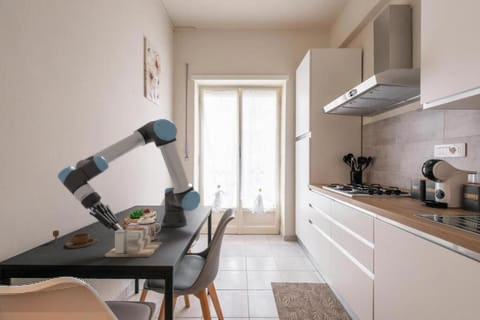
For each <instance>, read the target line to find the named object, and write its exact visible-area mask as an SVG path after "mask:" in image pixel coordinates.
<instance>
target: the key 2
mask: <svg viewBox="0 0 480 320" xmlns="http://www.w3.org/2000/svg"><path fill="white" fill-rule="evenodd" d="M138 225H139V223H137V222H130V223H128V224H127V227H128V226H137V228H138Z"/></svg>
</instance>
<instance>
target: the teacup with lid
mask: <svg viewBox="0 0 480 320" xmlns="http://www.w3.org/2000/svg"><path fill="white" fill-rule="evenodd" d="M136 223H139V225H138V228H139V227H140V226H142V225H151V242H152V241H153V240H155V239H156V234H158V233H160V231H161V229H162V224H160V223H159V222H156V220H155V219H153V218H151V217H149V215H144V216H143V218H141V219H138V220H137V221H136ZM157 225H158V226H159V227H158V230H156V226H157Z"/></svg>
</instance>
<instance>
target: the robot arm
mask: <svg viewBox="0 0 480 320" xmlns="http://www.w3.org/2000/svg"><path fill="white" fill-rule="evenodd" d="M177 133H178V129H177V126H176V124H175V123H174V122H173V120H170V119H167V118H160V119H159V118H158V119H156V120H152V121H148V122H147V123H145V124H144V125H142V126H140V127H139V128H137V129H135V130H133V132H132V134H129V135H128V136H126V137H124V138H122V139H121V140H120V139H119V140H118V141H117V142H115V143H113V144H111V145H109V146H106V147H105V148H104V149H103V148H102V149H101V150H99V151H98V152H95V153H94V154H93V155H90V156H88V157H87V158H84V159H80V160H79V161H78V162H76V164H75V167H74V166H67V167H64V168H63V169H62V170H61V171H60V172H59V173H58V174H57V179H58V180H59V181H60V182H61V183H62V184H63V186H64V187H65V188H66V189H67V190H68V191H69V192H70V193H71V195H73V196H74V198H75V200H77V201H78V202H80V204H81V205H82V206H83V208H84V209H86V210H88V209H89V210H90V211H89V215H90V216H92V217H94V218H95V219H96V220H97V221H99V222H100V223H101V224H102V225H103V226H104V227H105V228H107V229H108V230H111V229H112V231H114V233H115V231H117V230H124V228H123V227H122V226H120V224H119V223H120V221H119V218H117V217H116V215H115V214H114V212H113V211H112V210H111V208H110V206H109V204H104V203H103V202H102V201H101V200H102V197H101V195H99V193H98V192H97V191H96V190H95V189H94V187H92V186H91V185H90V183H89V182H90V181H91V180H92V179H94V178H96V177H98V176H100V175H101V174H102V173H105V171H107V170H108V169H109V167H110V166H109V164H111V163H112V162H114V161H115V160H117V159H119V158H121V157H124V156H125V155H126V154H128V153H130V152H132V151H134V150H135V149H137V148H140V147H141V146H142V147H144V146H146V145H148V144H151V143H154V144H155V147H156V148H157V149H159V151H160V152H161V153H160V154H161V156H162V158H163V161H164V164H165V166H166V169H167V172H168V175H169V177H170V180H171V182H172V185H173V187H166V188H165V189H164V214H163V217H162V219H161V227H164V228H179V227H180V228H181V227H185V226H187V225H188V219H187V216H186V214H185V212H192V211H194V210H196V209H197V208H198V207H199V206H200V203H201V195H200V193H199V192H198V191H196V190H195V189H194V186H193V184H192V183H190V182H189V180H188V176H187V174H186V171H185V169H184V166H183V162H182V160H181V158H180V155H179V152H178V149H177V146H176V144H177V137H176V136H177Z"/></svg>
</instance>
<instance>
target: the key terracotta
mask: <svg viewBox="0 0 480 320" xmlns="http://www.w3.org/2000/svg"><path fill="white" fill-rule="evenodd" d="M135 229H137V226H128V225H127V226H126V227H125V230H127V234H129V233H131V232H132V231H134V230H135Z"/></svg>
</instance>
